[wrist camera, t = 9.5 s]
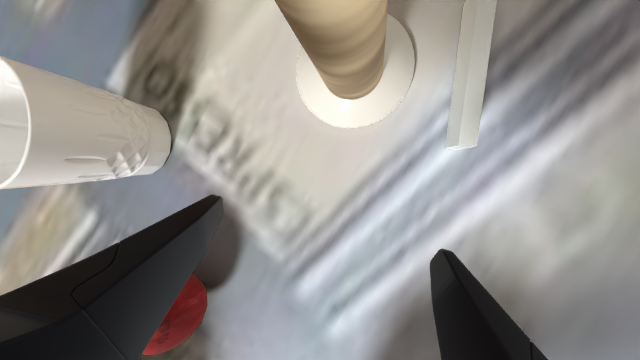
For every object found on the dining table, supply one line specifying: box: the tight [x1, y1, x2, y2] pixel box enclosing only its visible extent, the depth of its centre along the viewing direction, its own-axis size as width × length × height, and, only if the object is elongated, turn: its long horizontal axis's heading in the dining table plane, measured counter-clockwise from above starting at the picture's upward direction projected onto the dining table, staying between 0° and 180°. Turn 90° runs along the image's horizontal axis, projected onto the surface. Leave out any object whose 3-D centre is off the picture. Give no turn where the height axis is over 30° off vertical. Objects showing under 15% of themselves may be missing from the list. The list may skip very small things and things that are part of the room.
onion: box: [142, 274, 207, 355], centre depth 19 cm, size 6×6×8 cm
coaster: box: [296, 13, 415, 129], centre depth 19 cm, size 9×9×1 cm
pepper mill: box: [275, 0, 388, 100], centre depth 12 cm, size 5×5×14 cm
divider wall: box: [445, 0, 497, 150], centre depth 16 cm, size 10×1×3 cm, turn 175°
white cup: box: [0, 56, 171, 189], centre depth 19 cm, size 8×8×10 cm
